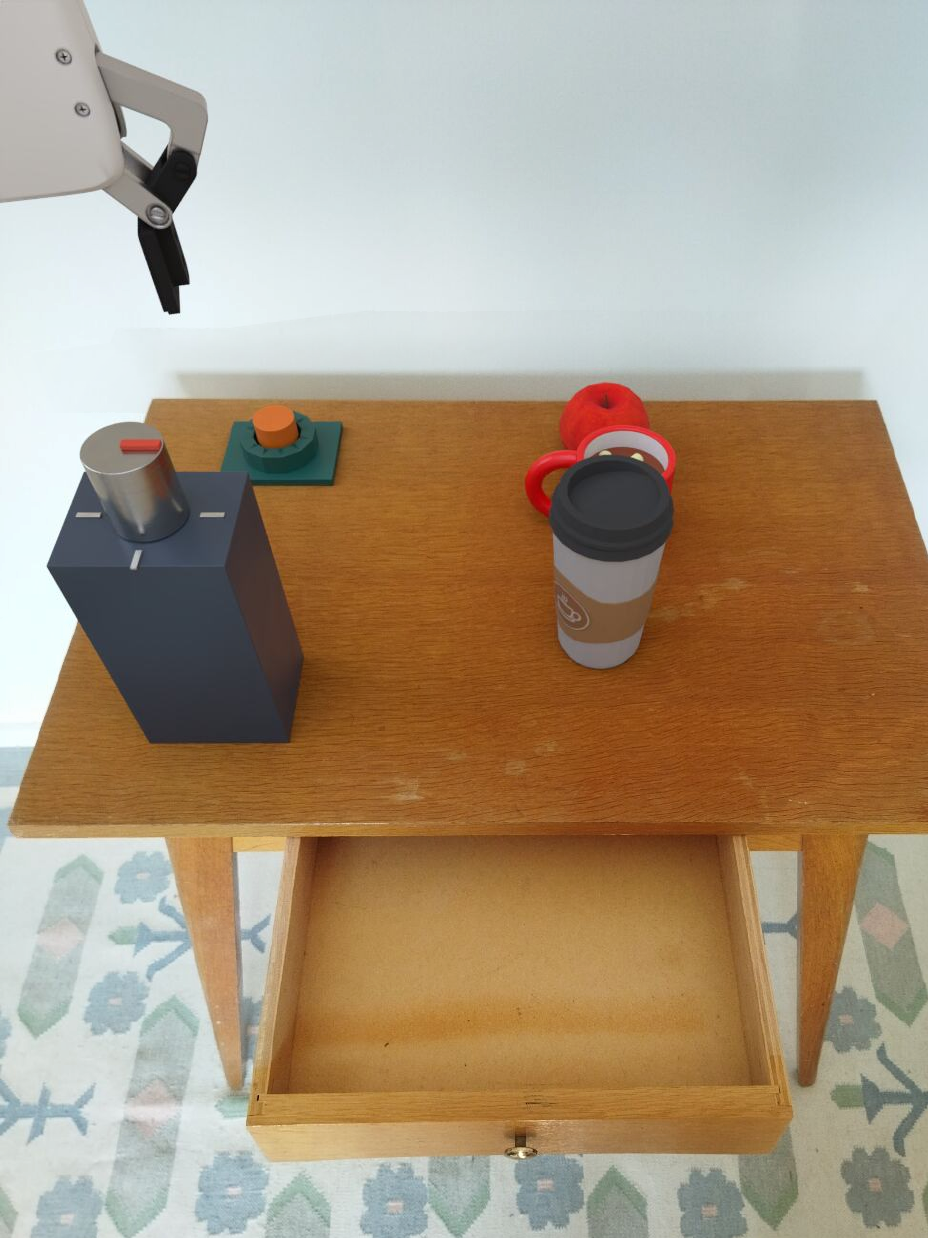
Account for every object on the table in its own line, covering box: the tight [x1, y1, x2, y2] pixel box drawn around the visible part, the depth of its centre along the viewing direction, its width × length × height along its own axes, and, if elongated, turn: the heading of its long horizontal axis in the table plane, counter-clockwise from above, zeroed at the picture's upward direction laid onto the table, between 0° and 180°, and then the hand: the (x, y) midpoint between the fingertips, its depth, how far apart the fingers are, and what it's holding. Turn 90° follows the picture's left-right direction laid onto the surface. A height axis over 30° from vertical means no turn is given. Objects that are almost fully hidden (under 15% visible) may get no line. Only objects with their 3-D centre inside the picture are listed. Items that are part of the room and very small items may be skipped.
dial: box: [79, 421, 189, 542], centre depth 53 cm, size 4×4×5 cm
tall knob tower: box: [46, 471, 305, 744], centre depth 63 cm, size 10×9×18 cm
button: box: [252, 404, 299, 448], centre depth 83 cm, size 4×4×2 cm
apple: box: [558, 381, 651, 451], centre depth 83 cm, size 8×8×7 cm
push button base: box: [219, 410, 344, 486], centre depth 85 cm, size 10×8×2 cm
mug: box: [524, 425, 677, 518], centre depth 78 cm, size 8×12×8 cm, turn 85°
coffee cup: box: [548, 455, 675, 670], centre depth 68 cm, size 8×8×15 cm
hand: (68, 312), depth 45 cm, fingers open, 9 cm apart
